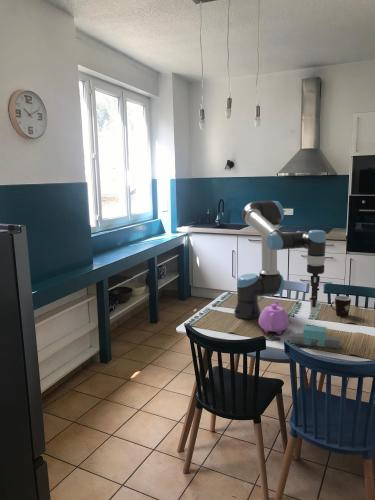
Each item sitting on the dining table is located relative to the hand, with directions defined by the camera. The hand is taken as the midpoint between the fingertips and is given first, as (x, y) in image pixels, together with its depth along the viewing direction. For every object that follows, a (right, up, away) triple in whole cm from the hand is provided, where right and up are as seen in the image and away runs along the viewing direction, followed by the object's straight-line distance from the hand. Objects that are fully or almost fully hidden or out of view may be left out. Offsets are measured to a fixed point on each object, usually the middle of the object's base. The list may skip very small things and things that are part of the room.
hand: (313, 308), depth 180 cm
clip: (+1, -17, +1) cm, 17 cm away
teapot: (-14, -14, +21) cm, 29 cm away
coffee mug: (+27, -10, +39) cm, 48 cm away
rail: (0, -17, +1) cm, 17 cm away
